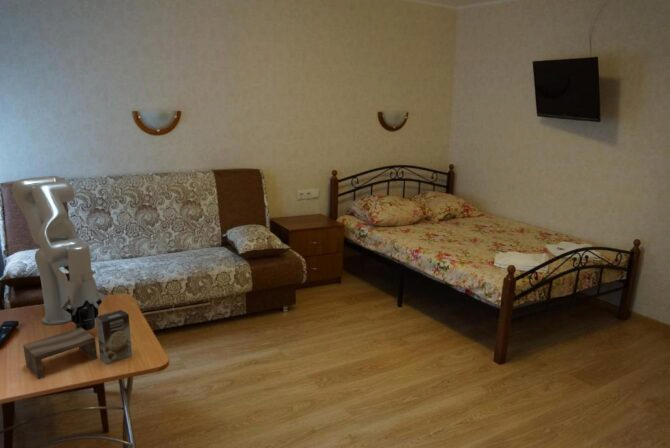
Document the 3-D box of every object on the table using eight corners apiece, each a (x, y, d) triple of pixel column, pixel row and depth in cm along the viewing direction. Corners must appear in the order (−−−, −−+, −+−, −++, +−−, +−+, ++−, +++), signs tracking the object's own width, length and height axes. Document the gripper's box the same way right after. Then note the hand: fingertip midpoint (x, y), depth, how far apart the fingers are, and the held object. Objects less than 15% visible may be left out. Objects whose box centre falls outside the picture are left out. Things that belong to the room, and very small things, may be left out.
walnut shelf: (26, 366, 174) (23, 344, 172) (83, 347, 188) (81, 327, 186) (38, 378, 166) (35, 356, 165) (97, 358, 180) (94, 337, 178)
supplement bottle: (88, 332, 191) (85, 303, 188) (72, 330, 193) (69, 301, 189) (99, 324, 198) (97, 296, 195) (84, 322, 199) (81, 294, 196)
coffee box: (107, 364, 175) (102, 321, 172) (99, 358, 180) (94, 316, 176) (133, 355, 182) (128, 314, 178) (125, 349, 186) (121, 309, 182)
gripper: (100, 268, 198) (103, 310, 203) (52, 279, 186) (57, 323, 191) (108, 273, 194) (112, 316, 198) (60, 285, 181) (65, 330, 186)
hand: (85, 319), depth 194 cm, fingers closed on supplement bottle, 6 cm apart
